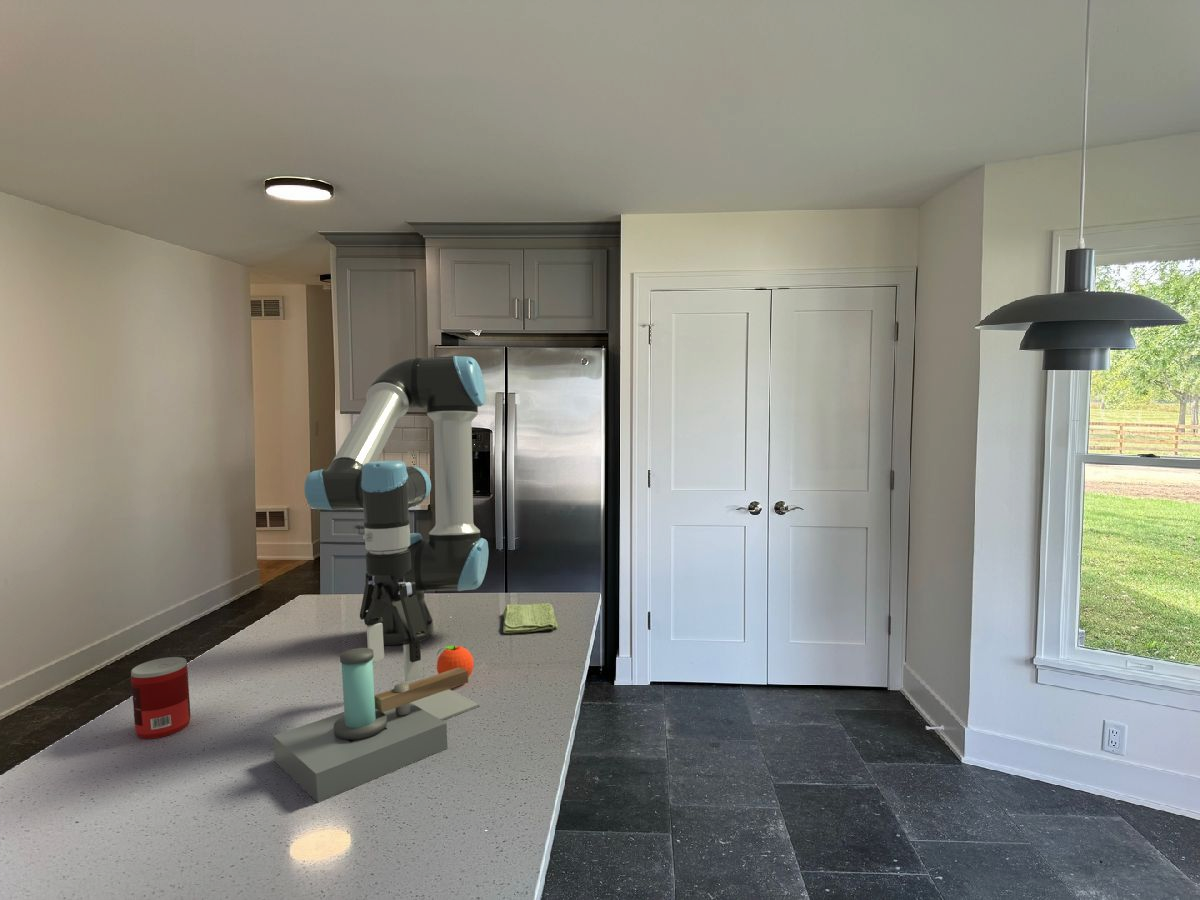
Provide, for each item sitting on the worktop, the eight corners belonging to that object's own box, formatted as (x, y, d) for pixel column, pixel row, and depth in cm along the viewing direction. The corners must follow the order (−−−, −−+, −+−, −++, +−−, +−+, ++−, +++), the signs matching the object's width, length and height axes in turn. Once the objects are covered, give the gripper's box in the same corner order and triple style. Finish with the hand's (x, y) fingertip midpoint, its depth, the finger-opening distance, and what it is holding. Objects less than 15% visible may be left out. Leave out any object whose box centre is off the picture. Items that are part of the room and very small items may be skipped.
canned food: (201, 721, 119) (197, 658, 119) (158, 742, 112) (153, 676, 111) (168, 716, 122) (164, 654, 121) (124, 736, 114) (119, 671, 114)
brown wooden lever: (374, 718, 108) (373, 691, 108) (460, 688, 119) (459, 663, 119) (382, 723, 106) (381, 696, 106) (468, 692, 117) (467, 667, 117)
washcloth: (502, 637, 159) (501, 624, 159) (503, 615, 177) (502, 602, 177) (559, 633, 161) (558, 619, 161) (554, 611, 178) (554, 599, 178)
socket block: (274, 761, 104) (273, 735, 104) (397, 717, 118) (395, 694, 118) (317, 802, 93) (316, 773, 93) (447, 748, 107) (446, 723, 106)
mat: (399, 708, 122) (399, 706, 122) (448, 690, 129) (448, 688, 129) (428, 725, 115) (428, 723, 114) (479, 706, 121) (479, 704, 121)
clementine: (425, 685, 132) (423, 648, 131) (449, 672, 138) (447, 637, 137) (458, 692, 128) (457, 654, 127) (481, 678, 134) (480, 642, 134)
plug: (327, 755, 106) (321, 654, 105) (374, 738, 111) (369, 641, 110) (348, 773, 100) (342, 666, 99) (397, 754, 105) (392, 652, 104)
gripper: (336, 544, 127) (343, 658, 128) (403, 563, 109) (409, 695, 110) (375, 538, 132) (381, 647, 133) (445, 555, 114) (450, 681, 116)
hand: (394, 669), depth 122 cm, fingers open, 13 cm apart
